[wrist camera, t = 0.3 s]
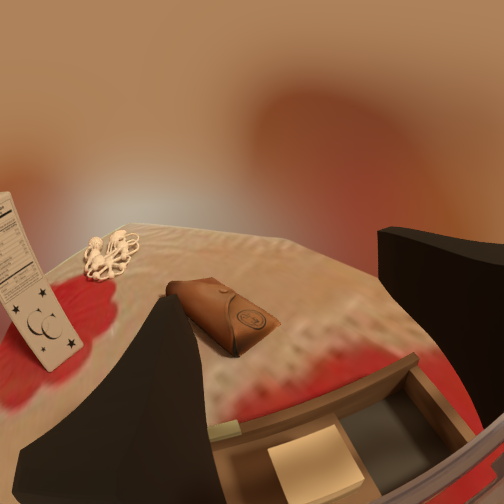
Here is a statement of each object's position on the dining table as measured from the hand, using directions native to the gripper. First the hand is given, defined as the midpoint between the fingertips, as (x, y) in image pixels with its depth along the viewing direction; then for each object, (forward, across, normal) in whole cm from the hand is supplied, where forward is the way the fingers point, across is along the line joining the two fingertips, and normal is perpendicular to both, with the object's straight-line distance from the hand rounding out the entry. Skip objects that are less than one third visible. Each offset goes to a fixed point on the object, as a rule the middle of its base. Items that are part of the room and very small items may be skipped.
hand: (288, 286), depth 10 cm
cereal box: (+32, +36, +18) cm, 51 cm away
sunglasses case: (+27, +4, +20) cm, 34 cm away
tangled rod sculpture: (+55, +26, +17) cm, 63 cm away
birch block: (0, 0, +18) cm, 18 cm away
